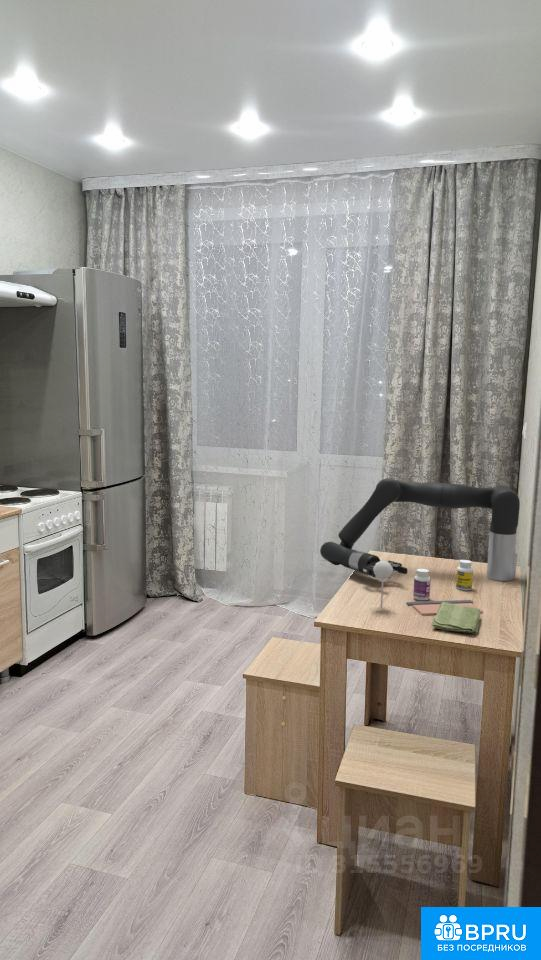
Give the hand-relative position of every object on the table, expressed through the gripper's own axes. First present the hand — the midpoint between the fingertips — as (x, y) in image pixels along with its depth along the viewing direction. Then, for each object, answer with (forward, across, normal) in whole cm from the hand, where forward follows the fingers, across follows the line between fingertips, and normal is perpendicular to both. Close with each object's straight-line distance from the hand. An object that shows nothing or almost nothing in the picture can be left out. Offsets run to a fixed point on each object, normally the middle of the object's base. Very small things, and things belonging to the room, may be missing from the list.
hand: (398, 573), depth 235 cm
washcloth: (+32, -10, +6) cm, 34 cm away
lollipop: (+9, -18, +6) cm, 21 cm away
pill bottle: (+10, 0, +6) cm, 12 cm away
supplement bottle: (+12, +21, +6) cm, 25 cm away
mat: (+22, -2, +6) cm, 22 cm away
